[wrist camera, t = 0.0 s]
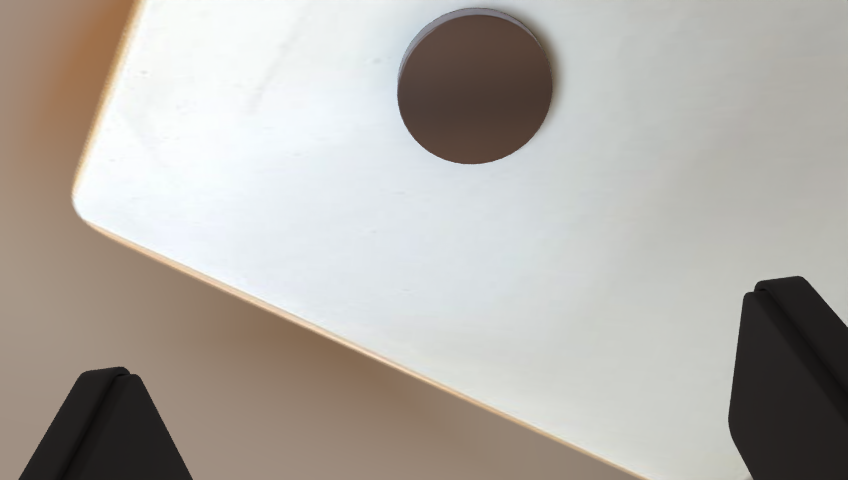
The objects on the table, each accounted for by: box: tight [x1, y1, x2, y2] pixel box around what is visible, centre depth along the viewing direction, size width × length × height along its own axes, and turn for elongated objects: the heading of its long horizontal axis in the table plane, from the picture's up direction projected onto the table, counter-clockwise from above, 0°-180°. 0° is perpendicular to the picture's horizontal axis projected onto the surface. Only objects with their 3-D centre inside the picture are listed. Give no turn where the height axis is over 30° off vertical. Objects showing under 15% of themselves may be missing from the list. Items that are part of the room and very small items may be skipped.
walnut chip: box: [397, 8, 553, 164], centre depth 37 cm, size 8×8×2 cm
